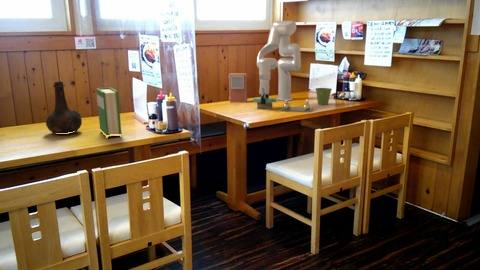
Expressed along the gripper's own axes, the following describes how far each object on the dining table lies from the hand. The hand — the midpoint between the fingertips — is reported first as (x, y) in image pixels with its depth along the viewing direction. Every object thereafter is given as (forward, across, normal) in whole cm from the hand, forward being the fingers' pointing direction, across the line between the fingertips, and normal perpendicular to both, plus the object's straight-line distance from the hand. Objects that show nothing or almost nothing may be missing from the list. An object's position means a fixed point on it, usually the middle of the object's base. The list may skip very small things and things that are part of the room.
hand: (264, 102), depth 289 cm
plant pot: (+5, -26, +37) cm, 45 cm away
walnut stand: (+4, 0, 0) cm, 4 cm away
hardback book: (+5, +90, -63) cm, 110 cm away
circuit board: (-1, 0, 0) cm, 1 cm away
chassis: (+4, 0, +22) cm, 22 cm away
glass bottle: (+5, +93, -89) cm, 129 cm away
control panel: (+4, -23, -26) cm, 35 cm away
